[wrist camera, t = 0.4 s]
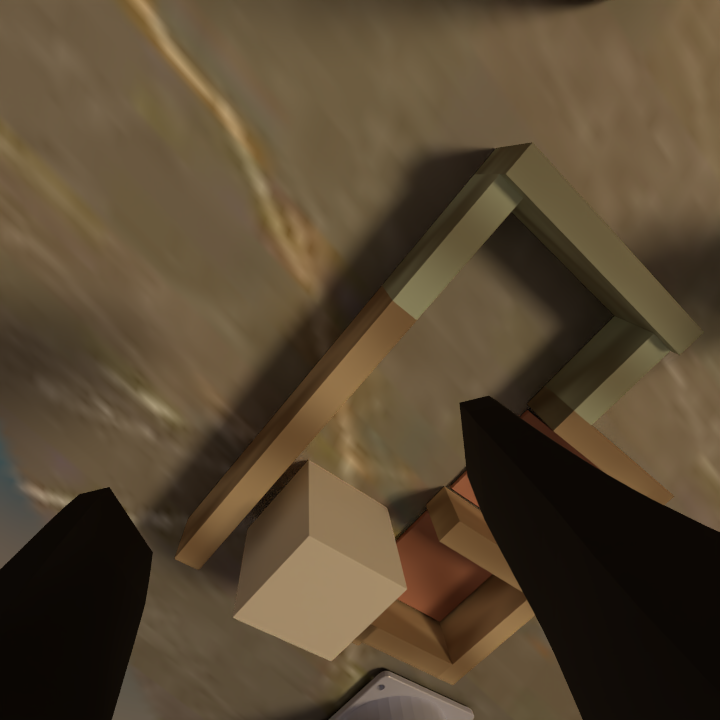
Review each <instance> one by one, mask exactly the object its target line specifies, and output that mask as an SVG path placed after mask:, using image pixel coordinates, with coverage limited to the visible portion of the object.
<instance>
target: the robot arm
mask: <svg viewBox="0 0 720 720" xmlns="http://www.w3.org/2000/svg"><path fill="white" fill-rule="evenodd" d="M460 412H461V421H462V431H463V440H464V449H465V459H466V468H467V477H468V479H469V482H470V484H471V487H472V489H473V492H474V495H475V497H476V500H477V502H478V505H479V507H480V510H481V512H482V515H483V517H484V520H485V522H486V524H487V526H488V528H489V529H490V531H491V533H492V535H493V537H494V539H495V541H496V543H497V545H498V547H499V548H500V550H501V552H502V554H503V556H504V558H505V560H506V562H507V563H508V565H509V567H510V569H511V571H512V573H513V575H514V577H515V578H516V580H517V582H518V584H519V586H520V588H521V590H522V592H523V593H524V595H525V597H526V599H527V601H528V603H529V605H530V606H531V608H532V610H533V612H534V614H535V616H536V618H537V620H538V621H539V623H540V625H541V627H542V629H543V631H544V633H545V635H546V637H547V639H548V641H549V643H550V645H551V648H552V650H553V652H554V654H555V656H556V658H557V661H558V663H559V665H560V668H561V670H562V672H563V675H564V677H565V679H566V682H567V684H568V686H569V689H570V691H571V693H572V696H573V698H574V700H575V703H576V705H577V707H578V709H579V712H580V714H581V717H582V719H583V720H720V532H718V531H716V530H714V529H711V528H709V527H707V526H705V525H703V524H701V523H699V522H697V521H695V520H693V519H691V518H689V517H687V516H685V515H683V514H681V513H679V512H677V511H675V510H673V509H671V508H669V507H667V506H665V505H662V504H660V503H658V502H656V501H655V500H653V499H651V498H649V497H647V496H645V495H643V494H641V493H639V492H638V491H636V490H634V489H632V488H630V487H629V486H627V485H625V484H623V483H622V482H620V481H618V480H616V479H615V478H613V477H611V476H609V475H608V474H606V473H604V472H603V471H601V470H599V469H598V468H596V467H594V466H593V465H591V464H589V463H588V462H586V461H585V460H583V459H581V458H580V457H578V456H577V455H575V454H574V453H572V452H571V451H569V450H567V449H566V448H564V447H563V446H561V445H560V444H558V443H557V442H555V441H553V440H552V439H550V438H549V437H548V436H546V435H545V434H543V433H542V432H540V431H539V430H537V429H536V428H534V427H533V426H531V425H530V424H529V423H527V422H526V421H524V420H523V419H521V418H520V417H519V416H517V415H516V414H514V413H513V412H512V411H510V410H509V409H507V408H506V407H505V406H503V405H502V404H500V403H499V402H497V401H496V400H495V399H493V398H492V397H490V396H486V397H482V398H477V399H473V400H469V401H465V402H461V403H460ZM152 555H153V552H152V551H151V549H150V548H149V546H148V545H147V543H146V542H145V540H144V539H143V537H142V536H141V534H140V533H139V531H138V530H137V528H136V527H135V525H134V524H133V522H132V521H131V519H130V518H129V516H128V515H127V513H126V512H125V510H124V509H123V507H122V505H121V504H120V502H119V501H118V499H117V498H116V496H115V495H114V493H113V492H112V490H111V489H110V487H108V488H104V489H99V490H95V491H91V492H87V493H83V494H79V495H78V496H77V497H76V498H75V499H73V500H72V501H71V502H70V503H69V504H68V505H66V506H65V507H64V508H63V509H62V510H61V511H60V512H59V513H58V514H57V515H56V516H55V517H54V518H52V519H51V520H50V521H49V522H48V523H47V524H46V525H45V526H44V527H43V528H42V529H41V530H40V531H39V532H38V533H37V534H36V535H35V536H34V537H33V538H32V539H31V540H30V541H29V542H28V543H27V544H26V545H25V546H24V547H23V548H22V549H21V550H20V551H19V552H18V553H17V554H16V555H15V556H14V557H13V558H12V559H11V560H10V561H8V562H7V564H5V565H4V566H3V568H1V569H0V720H112V717H113V713H114V710H115V706H116V703H117V699H118V696H119V693H120V689H121V686H122V683H123V679H124V676H125V672H126V669H127V666H128V662H129V659H130V655H131V652H132V649H133V645H134V642H135V638H136V635H137V631H138V628H139V624H140V620H141V617H142V613H143V609H144V606H145V601H146V595H147V589H148V584H149V577H150V570H151V562H152ZM473 719H474V715H473V711H472V710H471V709H470V708H468V707H466V706H464V705H461V704H459V703H457V702H455V701H453V700H451V699H448V698H446V697H444V696H442V695H440V694H438V693H435V692H433V691H431V690H429V689H427V688H425V687H422V686H420V685H418V684H416V683H414V682H412V681H409V680H407V679H405V678H403V677H401V676H399V675H396V674H394V673H392V672H390V671H383V672H381V673H379V674H378V675H377V676H376V677H375V678H374V679H373V680H371V681H370V682H369V683H368V684H367V685H366V686H365V687H364V688H363V689H362V690H360V691H359V692H358V693H357V694H356V695H355V696H354V697H353V698H352V699H351V700H349V701H348V702H347V703H346V704H345V705H344V706H343V707H342V708H341V709H340V710H338V711H337V712H336V713H335V714H334V715H333V716H332V717H331V718H330V719H329V720H473Z"/></svg>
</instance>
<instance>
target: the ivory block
mask: <svg viewBox="0 0 720 720" xmlns="http://www.w3.org/2000/svg"><path fill="white" fill-rule="evenodd" d="M406 590H407V586H406V582H405V578H404V574H403V570H402V566H401V561H400V557H399V553H398V549H397V545H396V541H395V537H394V533H393V529H392V525H391V521H390V516H389V512H388V508H387V507H385V506H383V505H382V504H380V503H379V502H377V501H375V500H374V499H372V498H370V497H369V496H367V495H366V494H364V493H362V492H361V491H359V490H357V489H356V488H354V487H353V486H351V485H349V484H348V483H346V482H344V481H343V480H341V479H339V478H338V477H336V476H335V475H333V474H331V473H330V472H328V471H326V470H325V469H323V468H322V467H320V466H318V465H317V464H315V463H313V462H312V461H310V460H308V461H307V462H306V463H305V464H304V465H303V467H302V468H301V469H300V470H299V471H298V472H297V473H296V474H295V476H294V477H293V478H292V479H291V480H290V481H289V482H288V484H287V485H286V486H285V487H284V488H283V489H282V490H281V491H280V493H279V494H278V495H277V496H276V497H275V498H274V499H273V501H272V502H271V503H270V504H269V505H268V506H267V507H266V509H265V510H264V511H263V512H262V513H261V514H260V515H259V516H258V518H257V519H256V520H255V521H254V522H253V523H252V524H251V526H250V527H249V528H248V529H247V535H246V541H245V547H244V553H243V559H242V565H241V571H240V577H239V583H238V589H237V595H236V601H235V607H234V613H233V618H235V619H237V620H239V621H242V622H244V623H246V624H248V625H251V626H253V627H255V628H257V629H260V630H262V631H264V632H266V633H269V634H271V635H273V636H275V637H278V638H280V639H282V640H284V641H287V642H289V643H291V644H293V645H296V646H298V647H300V648H302V649H305V650H307V651H309V652H311V653H314V654H316V655H318V656H320V657H323V658H325V659H327V660H329V661H332V660H333V659H334V658H335V657H336V656H337V655H338V654H340V653H341V652H342V651H343V650H344V649H345V648H346V647H347V646H348V645H349V644H350V643H351V642H352V641H353V640H354V639H355V638H356V637H357V636H358V635H360V634H361V633H362V632H363V631H364V630H365V629H366V628H367V627H368V626H369V625H370V624H371V623H372V622H373V621H374V620H375V619H376V618H377V617H378V616H380V615H381V614H382V613H383V612H384V611H385V610H386V609H387V608H388V607H389V606H390V605H391V604H392V603H393V602H394V601H395V600H396V599H397V598H398V597H400V596H401V595H402V594H403V593H404V592H405V591H406Z"/></svg>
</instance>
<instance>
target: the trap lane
mask: <svg viewBox="0 0 720 720" xmlns="http://www.w3.org/2000/svg"><path fill="white" fill-rule="evenodd" d="M511 212H512V213H513V214H514V215H515V216H516V217H517V218H518V219H519V220H520V221H521V222H522V223H523V224H524V225H525V226H526V227H527V228H528V229H529V230H530V231H531V232H532V233H533V234H534V235H535V236H536V237H537V238H538V239H539V240H540V241H541V242H542V243H543V244H544V245H545V246H546V247H547V248H548V249H549V250H550V251H551V252H552V253H553V254H554V255H555V256H556V257H557V258H558V259H559V260H560V261H561V262H562V263H563V264H564V265H565V266H566V267H567V268H568V269H569V270H570V271H571V272H572V273H573V274H574V275H575V276H576V277H577V278H578V280H579V281H580V282H581V283H582V284H583V285H584V286H585V287H586V288H587V289H588V290H589V291H590V292H591V293H592V294H593V295H594V296H595V297H596V298H597V299H598V300H599V301H600V302H601V303H602V304H603V305H604V306H605V307H606V308H607V309H608V310H609V311H610V312H611V313H612V314H613V315H614V317H613V318H612V319H611V320H610V321H609V322H608V323H607V324H606V325H605V326H604V327H603V328H602V329H601V330H600V331H599V332H598V333H597V334H596V335H595V336H594V337H593V338H592V339H591V340H590V341H589V342H588V343H587V344H586V345H585V346H584V347H583V348H582V349H581V350H580V351H579V352H578V353H577V354H576V355H575V356H574V357H573V358H572V359H571V360H570V361H569V362H568V363H567V364H566V365H565V366H564V367H563V368H562V369H561V370H560V371H559V372H558V373H557V374H556V375H555V376H554V377H553V378H552V379H551V380H550V381H549V382H548V383H547V384H546V385H545V386H544V387H543V388H542V389H541V390H540V391H539V392H538V393H537V394H536V395H535V396H534V397H533V398H532V399H531V400H530V401H529V402H528V403H527V405H528V406H529V407H530V408H531V409H532V410H533V411H534V412H535V413H536V414H537V415H538V416H539V417H540V418H541V419H542V420H543V421H544V422H545V423H546V424H547V425H548V426H549V427H550V428H551V429H550V428H549V427H548V426H547V425H546V424H544V423H543V422H542V421H541V420H539V419H538V418H537V417H536V416H534V415H533V414H532V413H531V412H530V411H528V410H526V411H525V412H524V413H523V414H522V415H521V416H520V418H521V419H523V420H524V421H526V422H527V423H529V424H530V425H531V426H533V427H534V428H536V429H537V430H539V431H540V432H542V433H543V434H545V435H546V436H548V437H549V438H550V439H552V440H553V441H555V442H557V443H558V444H560V445H561V446H563V447H564V448H566V449H567V450H569V451H571V452H572V453H574V454H575V455H577V456H578V457H580V458H581V459H583V460H585V461H586V462H588V463H589V464H591V465H593V466H594V467H596V468H598V469H599V470H601V471H603V472H604V473H606V474H608V475H609V476H611V477H613V478H615V479H616V480H618V481H620V482H622V483H623V484H625V485H627V486H629V487H630V488H632V489H634V490H636V491H638V492H639V493H641V494H643V495H645V496H647V497H649V498H651V499H653V500H655V501H656V502H658V503H660V504H662V505H665V504H666V503H667V502H668V501H669V500H671V499H672V498H673V497H674V496H673V495H672V494H671V493H670V492H669V491H668V490H666V489H665V488H664V487H663V486H662V485H661V484H660V483H658V482H657V481H656V480H655V479H654V478H653V477H651V476H650V475H649V474H648V473H647V472H646V471H645V470H643V469H642V468H641V467H640V466H639V465H638V464H636V463H635V462H634V461H633V460H632V459H631V458H629V457H628V456H627V455H626V454H625V453H624V452H622V451H621V450H620V449H619V448H618V447H616V446H615V445H614V444H613V443H612V442H611V441H609V440H608V439H607V438H606V437H605V436H604V435H602V434H601V433H600V432H599V431H598V430H597V429H595V428H594V427H593V426H592V424H593V423H595V422H596V421H597V420H598V419H599V418H600V417H601V416H602V415H603V414H604V413H605V412H606V411H607V410H608V409H609V408H610V407H611V406H612V405H614V404H615V403H616V402H617V401H618V400H619V399H620V398H621V397H622V396H623V395H624V394H625V393H626V392H627V391H628V390H629V389H630V388H632V387H633V386H634V385H635V384H636V383H637V382H638V381H639V380H640V379H641V378H642V377H643V376H644V375H645V374H646V373H647V372H648V371H649V370H651V369H652V368H653V367H654V366H655V365H656V364H657V363H658V362H659V361H660V360H661V359H662V358H663V357H664V356H665V355H666V354H667V353H669V352H670V351H672V352H674V353H677V354H679V355H680V354H682V353H683V352H684V351H685V350H686V349H687V348H688V347H689V346H690V345H691V344H692V343H693V342H694V341H695V340H696V339H698V338H699V337H700V336H701V335H702V334H703V333H704V332H703V330H702V329H701V328H700V327H699V326H698V325H697V324H696V323H695V322H694V320H693V319H692V318H691V317H690V316H689V315H688V314H687V313H686V312H685V311H684V309H683V308H682V307H681V306H680V305H679V304H678V303H677V302H676V301H675V299H674V298H673V297H672V296H671V295H670V294H669V293H668V292H667V291H666V290H665V288H664V287H663V286H662V285H661V284H660V283H659V282H658V281H657V280H656V278H655V277H654V276H653V275H652V274H651V273H650V272H649V271H648V270H647V269H646V267H645V266H644V265H643V264H642V263H641V262H640V261H639V260H638V259H637V257H636V256H635V255H634V254H633V253H632V252H631V251H630V250H629V249H628V248H627V246H626V245H625V244H624V243H623V242H622V241H621V240H620V239H619V238H618V236H617V235H616V234H615V233H614V232H613V231H612V230H611V229H610V228H609V226H608V225H607V224H606V223H605V222H604V221H603V220H602V219H601V218H600V217H599V215H598V214H597V213H596V212H595V211H594V210H593V209H592V208H591V207H590V205H589V204H588V203H587V202H586V201H585V200H584V199H583V198H582V197H581V196H580V194H579V193H578V192H577V191H576V190H575V189H574V188H573V187H572V186H571V184H570V183H569V182H568V181H567V180H566V179H565V178H564V177H563V176H562V175H561V173H560V172H559V171H558V170H557V169H556V168H555V167H554V166H553V165H552V163H551V162H550V161H549V160H548V159H547V158H546V157H545V156H544V155H543V154H542V152H541V151H540V150H539V149H538V148H537V147H536V146H535V145H534V144H533V142H532V143H526V144H519V145H513V146H506V147H500V148H496V149H495V150H494V151H493V152H492V154H491V155H490V156H489V157H488V158H487V160H486V161H485V162H484V163H483V164H482V166H481V167H480V168H479V169H478V170H477V172H476V173H475V174H474V175H473V176H472V178H471V179H470V180H469V181H468V182H467V184H466V185H465V186H464V187H463V188H462V190H461V191H460V192H459V193H458V194H457V196H456V197H455V198H454V199H453V201H452V202H451V203H450V204H449V205H448V207H447V208H446V209H445V210H444V211H443V213H442V214H441V215H440V216H439V217H438V219H437V220H436V221H435V222H434V223H433V225H432V226H431V227H430V228H429V229H428V231H427V232H426V233H425V234H424V235H423V237H422V238H421V239H420V240H419V241H418V243H417V244H416V245H415V246H414V247H413V249H412V250H411V251H410V252H409V253H408V255H407V256H406V257H405V258H404V259H403V261H402V262H401V263H400V264H399V265H398V267H397V268H396V269H395V270H394V271H393V273H392V274H391V275H390V276H389V278H388V279H387V280H386V281H385V282H384V284H383V285H382V286H381V287H380V288H379V290H378V291H377V292H376V293H375V294H374V296H373V297H372V298H371V299H370V300H369V302H368V303H367V304H366V305H365V306H364V308H363V309H362V310H361V311H360V312H359V314H358V315H357V316H356V317H355V318H354V320H353V321H352V322H351V323H350V324H349V326H348V327H347V328H346V329H345V330H344V332H343V333H342V334H341V335H340V336H339V338H338V339H337V340H336V341H335V342H334V344H333V345H332V346H331V347H330V349H329V350H328V351H327V352H326V353H325V355H324V356H323V357H322V358H321V359H320V361H319V362H318V363H317V364H316V365H315V367H314V368H313V369H312V370H311V371H310V373H309V374H308V375H307V376H306V377H305V379H304V380H303V381H302V382H301V383H300V385H299V386H298V387H297V388H296V389H295V391H294V392H293V393H292V394H291V395H290V397H289V398H288V399H287V400H286V401H285V403H284V404H283V405H282V406H281V407H280V409H279V410H278V411H277V412H276V413H275V415H274V416H273V417H272V418H271V419H270V421H269V422H268V423H267V424H266V426H265V427H264V428H263V429H262V430H261V432H260V433H259V434H258V435H257V436H256V438H255V439H254V440H253V441H252V442H251V444H250V445H249V446H248V447H247V448H246V450H245V451H244V452H243V453H242V454H241V456H240V457H239V458H238V459H237V460H236V462H235V463H234V464H233V465H232V466H231V468H230V469H229V470H228V471H227V472H226V474H225V475H224V476H223V477H222V478H221V480H220V481H219V482H218V483H217V484H216V486H215V487H214V488H213V489H212V490H211V492H210V493H209V494H208V495H207V497H206V498H205V499H204V500H203V501H202V503H201V504H200V505H199V506H198V507H197V509H196V510H195V511H194V512H193V513H192V515H191V516H190V517H189V518H188V520H187V523H186V526H185V529H184V532H183V535H182V538H181V541H180V544H179V546H178V549H177V552H176V555H175V558H174V559H176V560H178V561H180V562H182V563H184V564H187V565H189V566H191V567H193V568H195V569H197V570H199V569H200V568H201V567H202V566H203V565H204V563H205V562H206V561H207V560H208V559H209V558H210V557H211V555H212V554H213V553H214V552H215V551H216V550H217V549H218V547H219V546H220V545H221V544H222V543H223V542H224V541H225V539H226V538H227V537H228V536H229V535H230V534H231V533H232V531H233V530H234V529H235V528H236V527H237V526H238V525H239V523H240V522H241V521H242V520H243V519H244V518H245V516H246V515H247V514H248V513H249V512H250V511H251V510H252V508H253V507H254V506H255V505H256V504H257V503H258V502H259V500H260V499H261V498H262V497H263V496H264V495H265V494H266V492H267V491H268V490H269V489H270V488H271V487H272V486H273V484H274V483H275V482H276V481H277V480H278V479H279V477H280V476H281V475H282V474H283V473H284V472H285V471H286V469H287V468H288V467H289V466H290V465H291V464H292V463H293V461H294V460H295V459H296V458H297V457H298V456H299V455H300V453H301V452H302V451H303V450H304V449H305V448H306V447H307V445H308V444H309V443H310V442H311V441H312V440H313V439H314V437H315V436H316V435H317V434H318V433H319V432H320V430H321V429H322V428H323V427H324V426H325V425H326V424H327V422H328V421H329V420H330V419H331V418H332V417H333V416H334V414H335V413H336V412H337V411H338V410H339V409H340V408H341V406H342V405H343V404H344V403H345V402H346V401H347V400H348V398H349V397H350V396H351V395H352V394H353V393H354V392H355V390H356V389H357V388H358V387H359V386H360V385H361V383H362V382H363V381H364V380H365V379H366V378H367V377H368V375H369V374H370V373H371V372H372V371H373V370H374V369H375V367H376V366H377V365H378V364H379V363H380V362H381V361H382V359H383V358H384V357H385V356H386V355H387V354H388V353H389V351H390V350H391V349H392V348H393V347H394V346H395V345H396V343H397V342H398V341H399V340H400V339H401V338H402V336H403V335H404V334H405V333H406V332H407V331H408V330H409V328H410V327H411V326H412V325H413V324H414V323H415V322H416V320H417V319H418V318H419V317H420V316H421V315H422V314H423V312H424V311H425V310H426V309H427V308H428V307H429V306H430V304H431V303H432V302H433V301H434V300H435V299H436V297H437V296H438V295H439V294H440V293H441V292H442V291H443V289H444V288H445V287H446V286H447V285H448V284H449V283H450V281H451V280H452V279H453V278H454V277H455V276H456V275H457V273H458V272H459V271H460V270H461V269H462V268H463V267H464V265H465V264H466V263H467V262H468V261H469V260H470V259H471V257H472V256H473V255H474V254H475V253H476V252H477V250H478V249H479V248H480V247H481V246H482V245H483V244H484V242H485V241H486V240H487V239H488V238H489V237H490V236H491V234H492V233H493V232H494V231H495V230H496V229H497V228H498V226H499V225H500V224H501V223H502V222H503V221H504V220H505V218H506V217H507V216H508V215H509V214H510V213H511ZM451 488H452V489H453V490H455V491H456V492H458V493H459V494H461V495H462V496H463V497H465V498H466V499H468V500H469V501H471V502H472V503H474V504H475V505H477V506H478V507H479V505H478V502H477V500H476V497H475V495H474V492H473V489H472V487H471V484H470V482H469V479H468V477H467V470H466V471H465V472H464V473H463V474H462V475H461V476H460V477H459V478H458V479H457V480H456V481H455V482H454V483H453V484H452V485H451ZM426 507H427V509H428V510H426V511H425V512H424V513H423V514H422V515H421V516H420V517H419V518H418V519H417V520H416V521H415V522H414V523H413V524H412V525H411V526H410V527H409V528H408V529H407V530H406V531H405V532H404V533H403V534H402V535H401V536H400V537H399V538H398V539H397V540H396V545H397V549H398V553H399V557H400V561H401V566H402V570H403V574H404V578H405V582H406V586H407V590H406V591H405V592H404V593H403V594H402V595H401V596H400V597H398V598H397V599H398V600H397V599H396V600H395V601H394V602H393V603H392V604H391V605H390V606H389V607H388V608H387V609H386V610H385V611H384V612H383V613H382V614H381V615H380V616H378V617H377V618H376V619H375V620H374V621H373V622H372V623H371V624H370V625H369V626H368V627H367V628H366V629H365V630H364V631H363V632H362V633H361V634H360V635H358V636H357V637H356V638H355V639H354V640H353V641H352V643H354V644H356V645H358V646H359V645H360V644H361V643H362V642H363V643H365V644H367V645H370V646H372V647H374V648H376V649H378V650H380V651H382V652H384V653H386V654H388V655H390V656H393V657H395V658H397V659H399V660H401V661H403V662H405V663H407V664H409V665H411V666H414V667H416V668H418V669H420V670H422V671H424V672H426V673H428V674H430V675H432V676H435V677H437V678H439V679H441V680H443V681H445V682H447V683H449V684H451V685H454V684H455V683H456V682H457V681H458V680H460V679H461V678H462V677H463V676H464V675H465V674H467V673H468V672H469V671H470V670H471V669H472V668H474V667H475V666H476V665H477V664H478V663H479V662H481V661H482V660H483V659H484V658H485V657H486V656H488V655H489V654H490V653H491V652H492V651H494V650H495V649H496V648H497V647H498V646H499V645H501V644H502V643H503V642H504V641H505V640H506V639H508V638H509V637H510V636H511V635H512V634H513V633H515V632H516V631H517V630H518V629H519V628H520V627H522V626H523V625H524V624H525V623H526V622H528V621H529V620H530V619H531V618H532V617H533V616H535V614H534V612H533V610H532V608H531V606H530V605H529V603H528V601H527V599H526V597H525V595H524V593H523V592H522V590H521V588H520V586H519V584H518V582H517V580H516V578H515V577H514V575H513V573H512V571H511V569H510V567H509V565H508V563H507V562H506V560H505V558H504V556H503V554H502V552H501V550H500V548H499V547H498V545H497V543H496V541H495V539H494V537H493V535H492V533H491V531H490V529H489V528H488V526H487V524H486V522H485V520H484V517H483V515H482V512H481V511H480V510H479V509H477V508H476V507H474V506H473V505H471V504H470V503H468V502H467V501H465V500H464V499H462V498H461V497H459V496H458V495H456V494H455V493H453V492H452V491H450V490H449V489H447V488H446V487H443V488H442V489H441V490H440V491H439V492H438V493H437V494H436V495H435V496H434V497H433V498H432V499H431V500H430V501H429V502H428V503H427V504H426ZM486 579H487V580H486ZM485 580H486V581H485ZM484 581H485V582H484ZM483 582H484V583H483ZM482 583H483V584H482ZM475 589H476V590H475ZM474 590H475V591H474ZM473 591H474V592H473ZM472 592H473V593H472ZM471 593H472V594H471ZM464 599H465V600H464ZM399 600H400V601H402V602H404V603H406V604H408V605H409V606H408V605H406V604H404V603H402V602H400V601H399ZM463 600H464V601H463ZM462 601H463V602H462ZM461 602H462V603H461ZM410 606H411V607H410ZM412 607H413V608H412ZM414 608H415V609H414ZM454 608H455V609H454ZM416 609H417V610H419V611H421V612H423V613H424V614H423V613H421V612H419V611H417V610H416ZM453 609H454V610H453ZM452 610H453V611H452ZM451 611H452V612H451ZM450 612H451V613H450ZM425 614H426V615H425ZM427 615H428V616H427ZM429 616H430V617H429ZM431 617H432V618H434V619H436V620H438V621H439V622H438V621H436V620H434V619H432V618H431ZM443 618H444V619H443ZM442 619H443V620H442ZM441 620H442V621H441ZM440 621H441V622H440Z"/></svg>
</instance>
